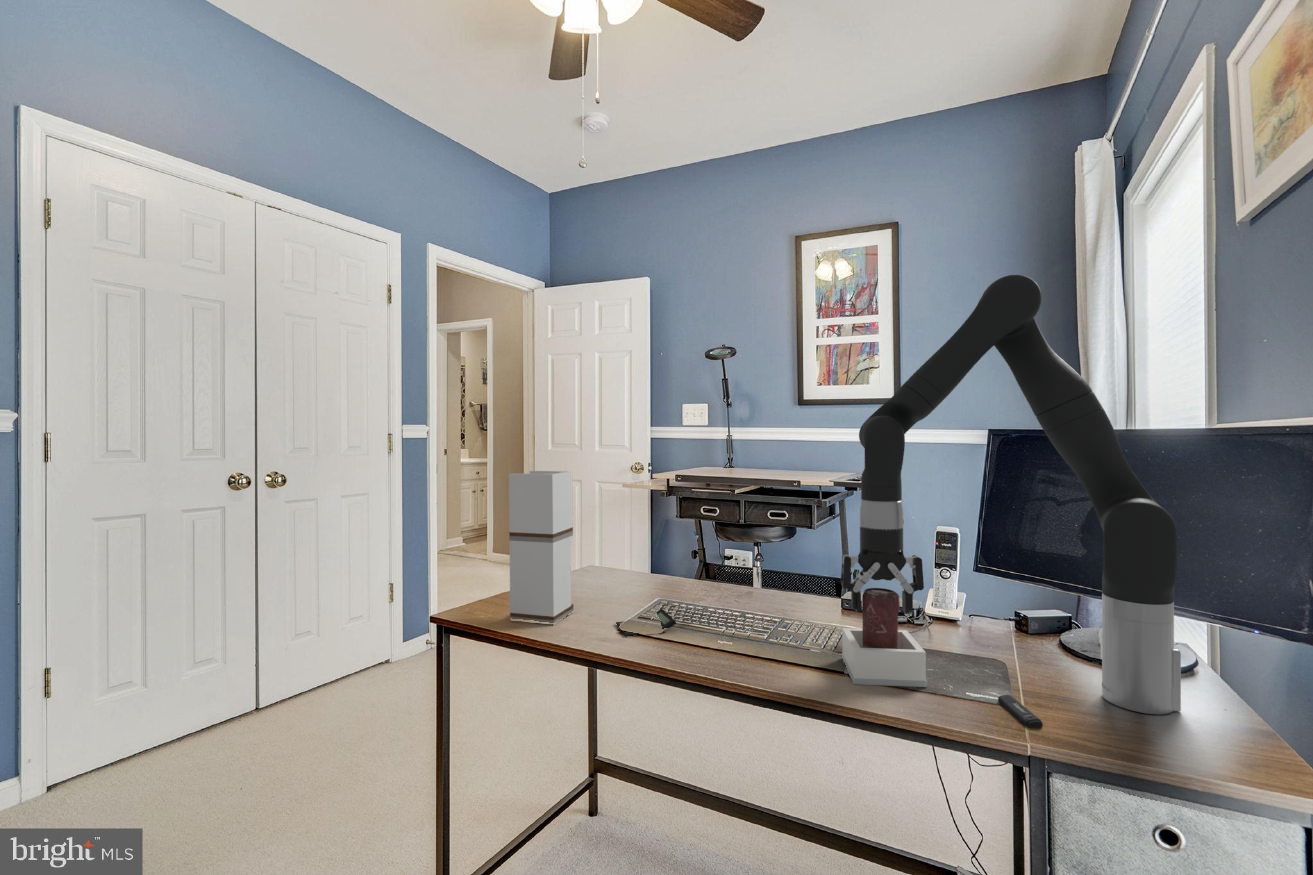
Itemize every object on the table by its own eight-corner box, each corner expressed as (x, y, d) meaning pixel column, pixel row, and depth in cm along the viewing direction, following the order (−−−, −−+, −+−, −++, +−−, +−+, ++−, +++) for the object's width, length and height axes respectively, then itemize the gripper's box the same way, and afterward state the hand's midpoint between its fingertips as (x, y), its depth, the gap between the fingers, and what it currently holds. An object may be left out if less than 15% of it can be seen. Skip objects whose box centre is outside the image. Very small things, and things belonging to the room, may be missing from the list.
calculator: (615, 625, 143) (615, 612, 143) (663, 620, 147) (663, 608, 147) (626, 638, 134) (626, 624, 134) (676, 633, 138) (676, 619, 138)
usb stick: (996, 702, 102) (996, 693, 102) (1012, 703, 102) (1012, 693, 102) (1026, 730, 93) (1026, 719, 93) (1044, 730, 92) (1044, 720, 92)
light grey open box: (907, 660, 120) (907, 629, 119) (927, 687, 107) (927, 652, 107) (841, 658, 121) (841, 627, 121) (853, 684, 109) (853, 650, 109)
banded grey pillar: (573, 612, 153) (572, 471, 153) (553, 625, 143) (552, 474, 143) (532, 608, 156) (531, 470, 156) (510, 621, 146) (508, 473, 146)
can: (902, 674, 110) (902, 596, 110) (865, 671, 112) (864, 594, 112) (896, 661, 116) (896, 587, 116) (860, 659, 118) (860, 586, 118)
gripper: (915, 521, 117) (915, 607, 117) (838, 521, 118) (838, 605, 119) (928, 528, 109) (928, 619, 109) (845, 527, 111) (845, 617, 111)
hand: (881, 612), depth 114 cm, fingers open, 8 cm apart
